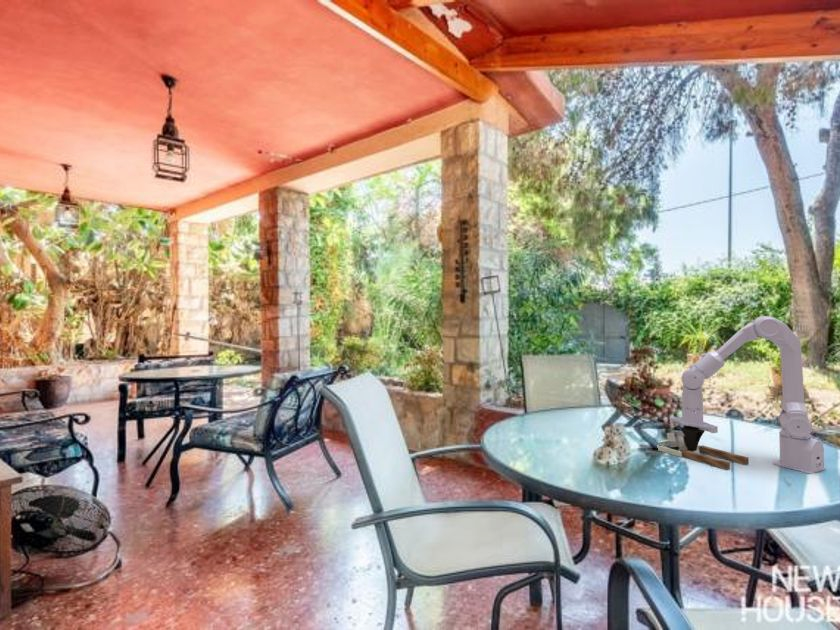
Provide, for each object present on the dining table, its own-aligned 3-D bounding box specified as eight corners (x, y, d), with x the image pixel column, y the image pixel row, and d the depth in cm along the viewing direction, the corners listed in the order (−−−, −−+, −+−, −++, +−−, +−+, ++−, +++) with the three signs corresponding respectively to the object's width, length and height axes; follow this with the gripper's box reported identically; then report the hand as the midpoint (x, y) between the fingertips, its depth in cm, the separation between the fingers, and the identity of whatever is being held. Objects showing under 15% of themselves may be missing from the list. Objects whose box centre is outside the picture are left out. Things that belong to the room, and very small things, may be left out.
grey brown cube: (698, 450, 147) (695, 435, 148) (685, 450, 147) (682, 436, 148) (691, 451, 150) (688, 436, 152) (679, 451, 150) (676, 437, 152)
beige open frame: (705, 451, 149) (705, 446, 149) (681, 457, 144) (680, 452, 144) (674, 442, 159) (674, 438, 159) (650, 447, 154) (650, 443, 154)
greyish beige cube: (688, 445, 151) (685, 431, 153) (677, 446, 151) (673, 432, 152) (680, 446, 155) (677, 432, 156) (669, 447, 155) (666, 433, 156)
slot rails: (748, 464, 136) (748, 457, 136) (726, 470, 132) (726, 463, 132) (702, 451, 149) (702, 445, 149) (681, 456, 145) (681, 450, 145)
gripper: (663, 404, 151) (663, 446, 151) (706, 413, 138) (707, 459, 138) (677, 402, 154) (678, 443, 154) (721, 411, 141) (722, 455, 141)
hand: (693, 450), depth 146 cm, fingers closed, pressing on grey brown cube
